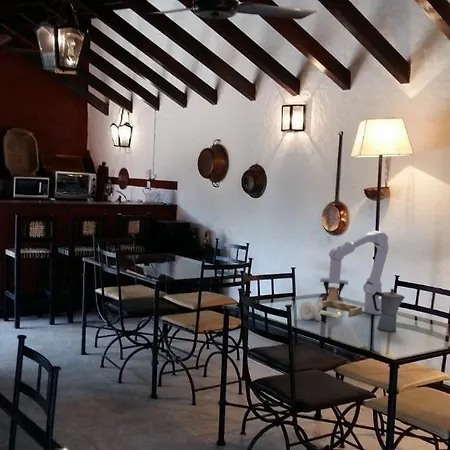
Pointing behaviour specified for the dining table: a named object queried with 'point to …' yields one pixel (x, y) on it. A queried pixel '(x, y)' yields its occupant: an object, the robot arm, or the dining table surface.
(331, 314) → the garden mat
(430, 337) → the dining table surface
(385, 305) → the moka pot
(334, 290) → the terracotta pot
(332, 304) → the tan wooden bent bar
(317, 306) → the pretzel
